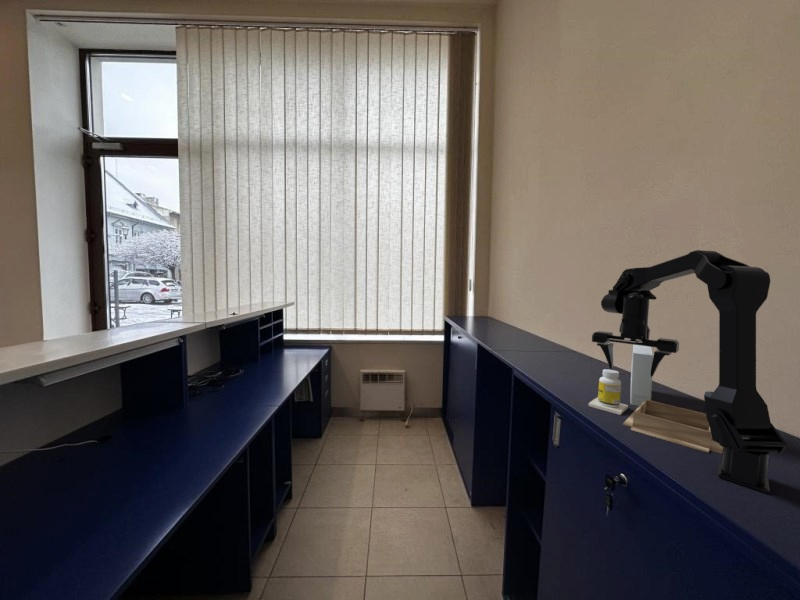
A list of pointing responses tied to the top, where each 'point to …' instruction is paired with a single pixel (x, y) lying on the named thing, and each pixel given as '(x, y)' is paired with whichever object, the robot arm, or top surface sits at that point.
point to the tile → (615, 410)
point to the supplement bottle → (609, 388)
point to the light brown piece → (673, 425)
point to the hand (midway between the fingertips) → (630, 372)
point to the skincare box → (641, 374)
